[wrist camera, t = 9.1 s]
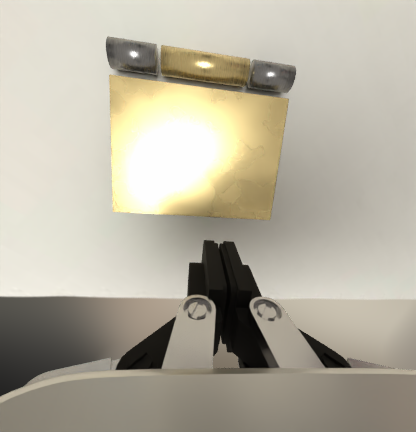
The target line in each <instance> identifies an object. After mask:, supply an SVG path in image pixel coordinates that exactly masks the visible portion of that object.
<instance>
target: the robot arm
mask: <svg viewBox="0 0 416 432" xmlns="http://www.w3.org/2000/svg"><path fill="white" fill-rule="evenodd" d="M220 336H221V340H222V343H223V344H226V347H227V352H233V353H234V354H235V355H236V356H238V363H239V368H212V365H213V356H214V355H215V354H216V353H217V351H218V345H219V341H220ZM0 432H416V370H407V369H406V370H405V369H395V368H390V367H386V366H382V365H377V364H373V363H368V362H364V361H360V360H355V359H351V358H348V359H347V361H346V360H345V359H344V358H343V357H342V356H340V355H339V354H338V353H336V352H335V351H333V350H332V349H330V348H328V347H327V346H325V345H324V344H322V343H320V342H319V341H317V340H316V339H314V338H312V337H311V336H309V335H308V334H306V333H304V332H302V331H301V330H300V329H298V328H297V327H296V326H295V324H294V323H293V321H292V320H291V319H290V317H289V316H288V314H287V313H286V311H285V310H284V308H283V307H282V306H281V305H280V304H279V303H278V302H276V301H275V300H273V299H271V298H267V297H262V296H261V293H260V291H259V289H258V286H257V284H256V282H255V279H254V277H253V275H252V272H251V270H250V268H249V266H248V265H242V262H241V259H240V257H239V254H238V252H237V249H236V246H235V244H234V242H228V241H224V242H223V244H220V246H219V248H218V244H217V243H214V241H210V240H204V244H203V254H202V263H189V276H188V294H187V297H186V298H185V299H184V300H182V302H181V304H180V306H179V309H178V313H177V316H176V317H174V318H173V319H172V320H170V321H169V322H168V323H166V324H165V325H164V326H162V327H161V328H159V329H158V330H157V331H155V332H154V333H153V334H152V335H150V336H148V337H147V338H146V339H144V340H143V341H142V342H140V343H139V344H138V345H136V346H135V347H133V348H132V349H131V350H130V351H128V352H127V353H126V354H125V355H124V356H123V357H122V358H121V359H118V360H114V361H112V359H111V358H108V359H103V360H99V361H94V362H89V363H85V364H80V365H76V366H71V367H67V368H62V369H58V370H53V371H49V372H46V373H43V374H41V375H39V376H37V377H35V378H34V379H32V380H31V381H29V382H28V383H27V384H26V385H25V386H24V387H22V388H20V389H17V390H15V391H12V392H10V393H8V394H5V395H3V396H1V397H0Z"/></svg>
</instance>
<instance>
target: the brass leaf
mask: <svg viewBox="0 0 416 432" xmlns="http://www.w3.org/2000/svg"><path fill="white" fill-rule="evenodd" d="M249 70H250V59H247V58H240V57H234V56H228V55H221V54H215V53H209V52H203V51H196V50H190V49H184V48H177V47H171V46H165V45H162V46H161V73H162V76H168V77H175V78H182V79H189V80H197V81H204V82H211V83H218V84H225V85H233V86H240V87H245V85H246V83H247V79H248V75H249ZM109 79H110V118H111V156H112V194H113V212H128V213H147V214H166V215H185V216H204V217H223V218H241V219H260V220H270V217H271V210H272V204H273V198H274V191H275V185H276V178H277V172H278V166H279V159H280V153H281V146H282V140H283V134H284V127H285V121H286V114H287V108H288V101H289V99H286V98H279V97H271V96H264V95H257V94H249V93H242V92H234V91H227V90H220V89H212V88H205V87H197V86H190V85H183V84H175V83H168V82H160V81H153V80H146V79H138V78H131V77H124V76H116V75H109Z"/></svg>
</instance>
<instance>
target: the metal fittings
mask: <svg viewBox="0 0 416 432" xmlns="http://www.w3.org/2000/svg"><path fill="white" fill-rule="evenodd" d="M106 52H107V58H108V62H109V65H110V67H111V68H112V69H118V70H125V71H132V72H139V73H146V74H154V75H157V74H158V50H157V45H156V44H152V43H146V42H139V41H133V40H127V39H120V38H114V37H107V39H106ZM295 75H296V68H295V66H291V65H285V64H278V63H272V62H266V61H259V60H253V61H252V63H251V66H250V70H249V75H248V80H247V86H248V88H254V89H261V90H269V91H276V92H283V93H287V92H289V90H290V89H291V87H292V85H293V83H294V80H295Z"/></svg>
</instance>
